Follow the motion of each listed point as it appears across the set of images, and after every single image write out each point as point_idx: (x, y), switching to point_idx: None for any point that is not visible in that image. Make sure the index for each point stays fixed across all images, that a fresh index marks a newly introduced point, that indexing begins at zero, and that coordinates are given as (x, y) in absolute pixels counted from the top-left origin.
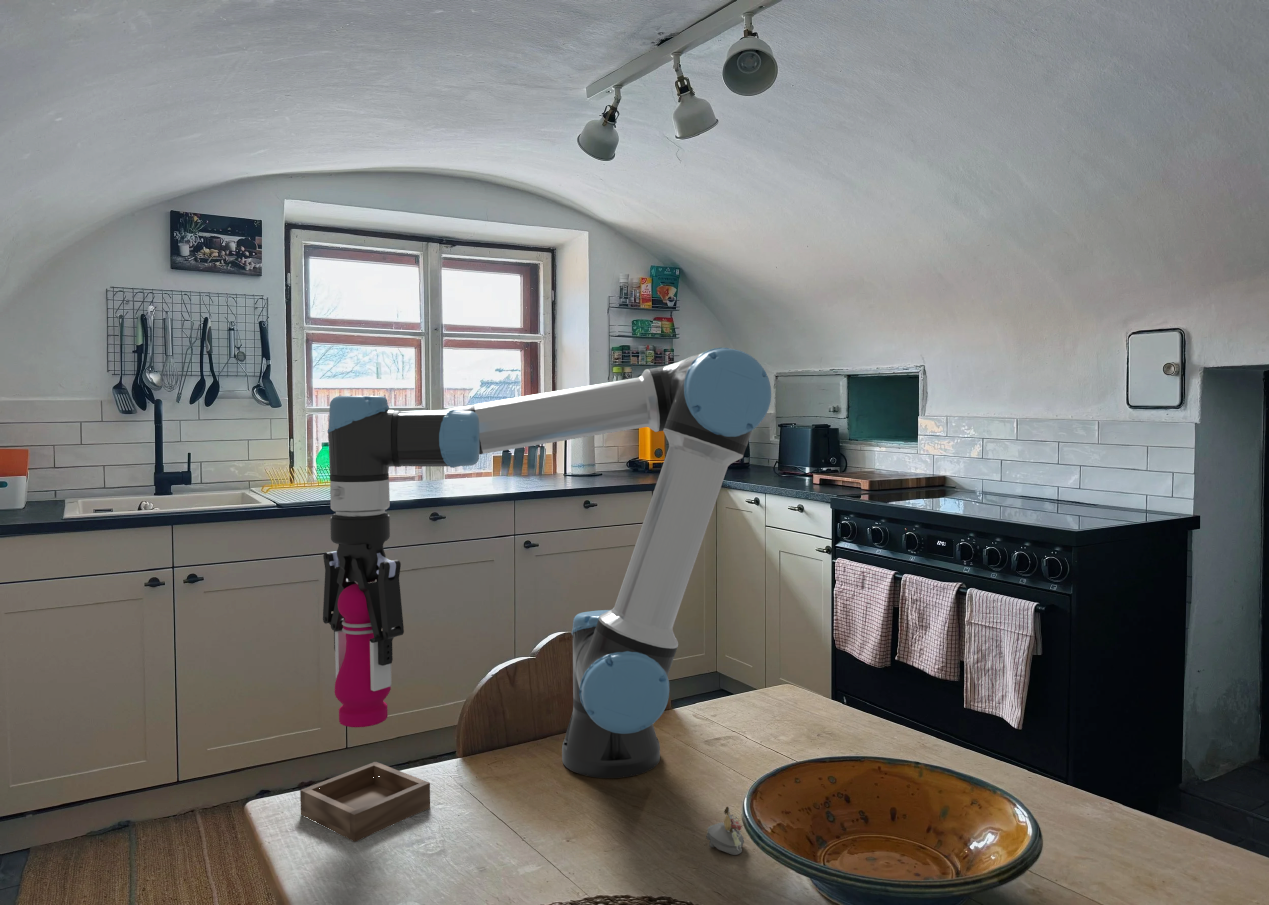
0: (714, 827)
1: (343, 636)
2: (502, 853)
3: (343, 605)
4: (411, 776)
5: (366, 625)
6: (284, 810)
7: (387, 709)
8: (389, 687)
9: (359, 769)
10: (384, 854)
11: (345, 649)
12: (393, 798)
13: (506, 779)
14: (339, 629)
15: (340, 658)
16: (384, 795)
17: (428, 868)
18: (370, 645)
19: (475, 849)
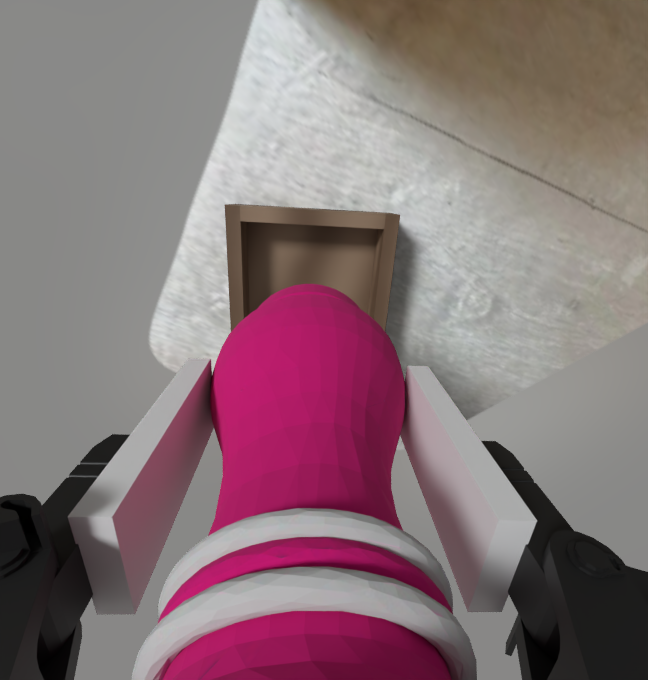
0: None
1: (146, 554)
2: (581, 258)
3: None
4: (347, 215)
5: None
6: (204, 350)
7: (353, 304)
8: (390, 341)
9: (234, 251)
10: (432, 350)
11: (173, 478)
12: (388, 298)
13: (437, 3)
14: (88, 602)
15: (189, 473)
16: (303, 242)
17: (507, 342)
18: (460, 582)
19: (538, 272)
